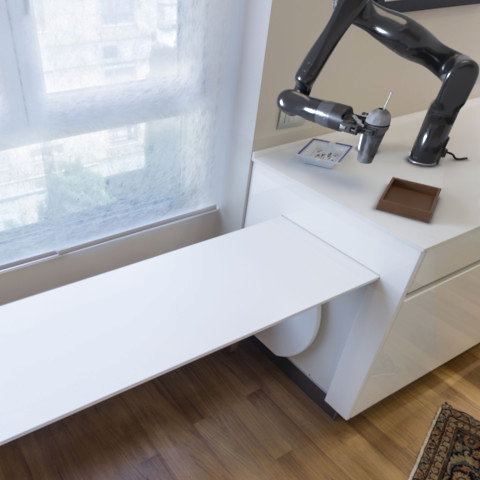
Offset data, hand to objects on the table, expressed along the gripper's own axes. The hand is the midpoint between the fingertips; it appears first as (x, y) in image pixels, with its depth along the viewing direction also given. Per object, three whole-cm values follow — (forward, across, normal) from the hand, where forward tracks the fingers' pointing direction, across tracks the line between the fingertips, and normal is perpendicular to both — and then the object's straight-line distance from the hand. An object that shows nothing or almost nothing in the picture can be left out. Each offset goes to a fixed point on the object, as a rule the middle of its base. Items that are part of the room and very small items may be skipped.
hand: (382, 130), depth 130 cm
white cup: (-15, +31, +19) cm, 39 cm away
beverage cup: (-2, 0, +10) cm, 10 cm away
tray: (+14, +1, +18) cm, 23 cm away
